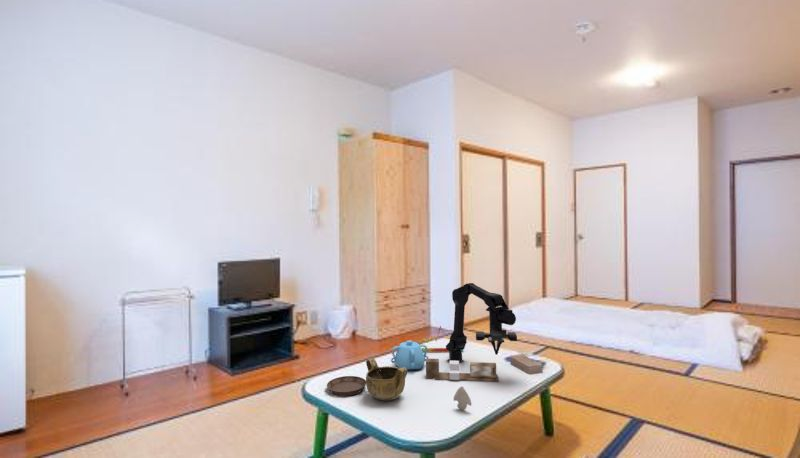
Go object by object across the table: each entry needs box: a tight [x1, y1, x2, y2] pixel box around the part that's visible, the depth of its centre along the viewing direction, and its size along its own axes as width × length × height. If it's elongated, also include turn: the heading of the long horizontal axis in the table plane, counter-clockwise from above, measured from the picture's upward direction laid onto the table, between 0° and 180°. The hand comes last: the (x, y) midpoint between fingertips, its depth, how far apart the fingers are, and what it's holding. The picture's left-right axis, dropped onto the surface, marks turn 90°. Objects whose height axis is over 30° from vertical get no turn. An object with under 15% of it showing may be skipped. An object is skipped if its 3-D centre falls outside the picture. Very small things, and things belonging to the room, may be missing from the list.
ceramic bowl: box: [365, 357, 408, 402], centre depth 182 cm, size 22×17×15 cm
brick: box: [510, 354, 543, 375], centre depth 216 cm, size 17×8×5 cm, turn 19°
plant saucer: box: [326, 375, 366, 397], centre depth 192 cm, size 18×18×3 cm
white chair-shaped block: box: [449, 361, 460, 381], centre depth 204 cm, size 4×9×6 cm, turn 173°
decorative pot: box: [390, 339, 429, 371], centre depth 220 cm, size 16×16×14 cm
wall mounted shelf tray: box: [469, 361, 497, 378], centre depth 202 cm, size 12×4×6 cm, turn 83°
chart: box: [418, 326, 464, 354], centre depth 244 cm, size 30×3×15 cm, turn 90°
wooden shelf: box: [425, 357, 500, 383], centre depth 204 cm, size 34×8×8 cm, turn 83°
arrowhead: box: [453, 385, 472, 411], centre depth 169 cm, size 8×3×10 cm, turn 54°
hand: (496, 354), depth 201 cm, fingers closed
